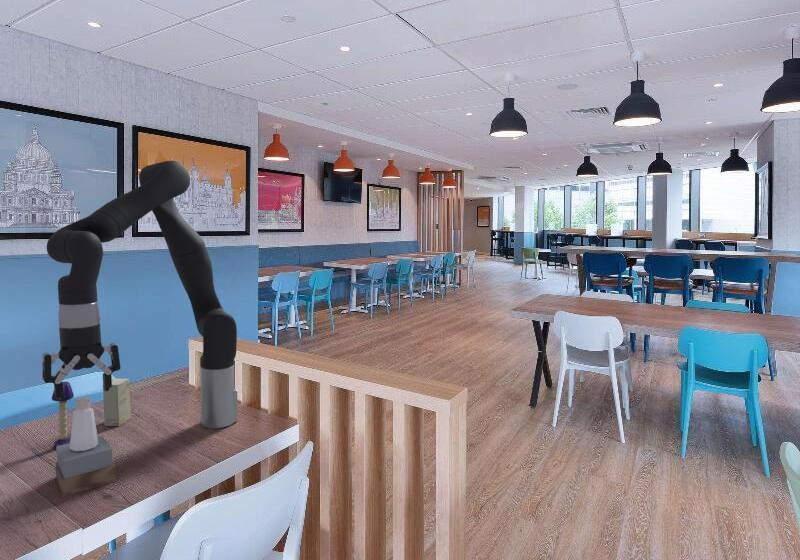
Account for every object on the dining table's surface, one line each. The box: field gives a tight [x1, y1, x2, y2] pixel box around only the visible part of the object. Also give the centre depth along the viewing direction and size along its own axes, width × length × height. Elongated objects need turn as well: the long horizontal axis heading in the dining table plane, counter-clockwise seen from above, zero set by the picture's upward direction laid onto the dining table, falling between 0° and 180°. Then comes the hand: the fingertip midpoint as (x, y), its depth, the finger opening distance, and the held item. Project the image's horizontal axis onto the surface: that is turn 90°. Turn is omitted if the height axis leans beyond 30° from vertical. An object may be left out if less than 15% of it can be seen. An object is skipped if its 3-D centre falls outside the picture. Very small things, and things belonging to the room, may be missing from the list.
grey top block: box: [55, 434, 114, 479], centre depth 110 cm, size 9×9×4 cm
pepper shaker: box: [70, 396, 98, 451], centre depth 110 cm, size 5×5×11 cm
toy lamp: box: [51, 381, 75, 450], centre depth 126 cm, size 5×5×17 cm
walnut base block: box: [54, 461, 117, 497], centre depth 111 cm, size 10×10×4 cm
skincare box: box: [102, 377, 132, 427], centre depth 141 cm, size 6×4×12 cm
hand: (84, 394), depth 109 cm, fingers open, 8 cm apart
